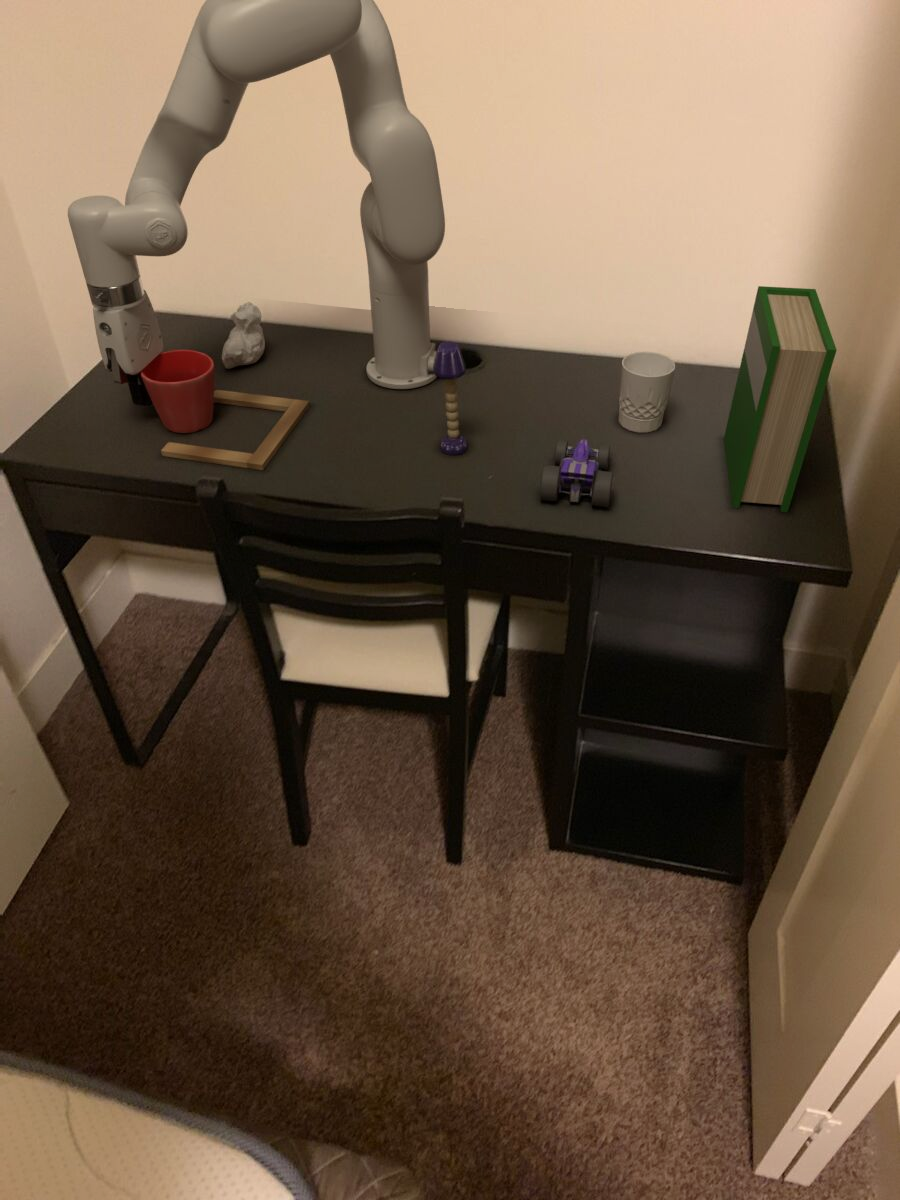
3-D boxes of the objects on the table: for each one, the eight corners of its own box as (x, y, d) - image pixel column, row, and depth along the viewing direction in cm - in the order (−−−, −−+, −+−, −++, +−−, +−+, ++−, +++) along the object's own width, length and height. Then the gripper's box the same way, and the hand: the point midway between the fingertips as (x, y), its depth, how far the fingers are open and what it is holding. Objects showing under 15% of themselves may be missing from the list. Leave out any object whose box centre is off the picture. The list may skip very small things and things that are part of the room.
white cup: (670, 415, 142) (681, 357, 135) (657, 439, 136) (667, 380, 130) (622, 405, 144) (630, 347, 137) (608, 428, 139) (615, 370, 132)
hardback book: (787, 512, 122) (836, 349, 106) (732, 507, 123) (772, 346, 107) (773, 443, 135) (815, 289, 119) (723, 439, 136) (758, 286, 120)
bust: (236, 387, 154) (266, 343, 147) (199, 359, 152) (227, 313, 145) (263, 355, 163) (292, 312, 156) (228, 328, 161) (256, 283, 154)
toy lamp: (444, 459, 133) (442, 356, 122) (430, 444, 136) (427, 342, 125) (472, 450, 135) (473, 348, 123) (458, 436, 138) (457, 334, 127)
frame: (310, 406, 145) (309, 400, 144) (263, 470, 132) (262, 464, 131) (217, 394, 148) (216, 389, 148) (162, 456, 135) (160, 450, 134)
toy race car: (615, 454, 133) (620, 416, 129) (607, 514, 123) (612, 474, 118) (551, 448, 135) (554, 410, 130) (538, 506, 124) (541, 467, 120)
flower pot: (214, 440, 138) (204, 383, 131) (144, 437, 138) (130, 381, 132) (230, 405, 146) (220, 350, 139) (163, 403, 146) (151, 348, 139)
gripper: (112, 314, 122) (142, 430, 135) (164, 272, 133) (188, 384, 145) (63, 308, 124) (98, 423, 136) (119, 267, 135) (147, 378, 147)
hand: (145, 403), depth 141 cm, fingers closed
